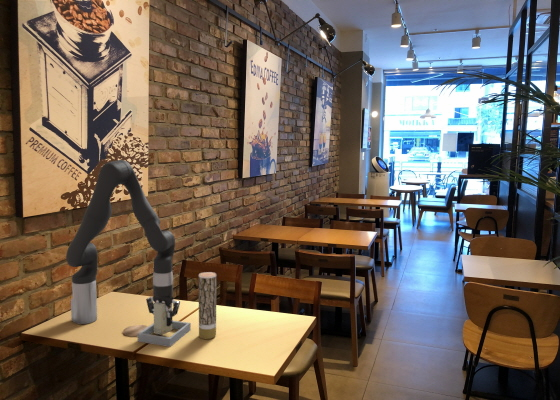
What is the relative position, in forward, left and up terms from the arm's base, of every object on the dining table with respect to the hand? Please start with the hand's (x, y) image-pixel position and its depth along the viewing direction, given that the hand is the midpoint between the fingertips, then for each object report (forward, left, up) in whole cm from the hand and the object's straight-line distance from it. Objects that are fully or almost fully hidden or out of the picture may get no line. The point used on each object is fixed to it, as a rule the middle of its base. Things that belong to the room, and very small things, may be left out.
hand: (163, 324), depth 174 cm
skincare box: (0, 0, -3) cm, 3 cm away
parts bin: (0, +1, -5) cm, 5 cm away
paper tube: (+16, +6, -5) cm, 18 cm away
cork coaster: (-13, +1, -5) cm, 14 cm away
